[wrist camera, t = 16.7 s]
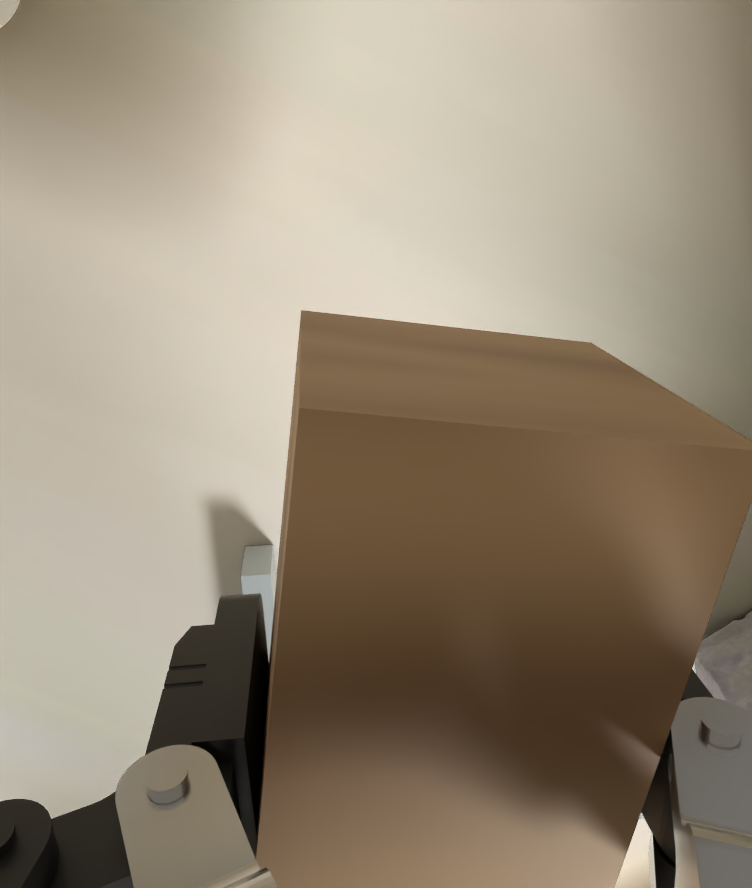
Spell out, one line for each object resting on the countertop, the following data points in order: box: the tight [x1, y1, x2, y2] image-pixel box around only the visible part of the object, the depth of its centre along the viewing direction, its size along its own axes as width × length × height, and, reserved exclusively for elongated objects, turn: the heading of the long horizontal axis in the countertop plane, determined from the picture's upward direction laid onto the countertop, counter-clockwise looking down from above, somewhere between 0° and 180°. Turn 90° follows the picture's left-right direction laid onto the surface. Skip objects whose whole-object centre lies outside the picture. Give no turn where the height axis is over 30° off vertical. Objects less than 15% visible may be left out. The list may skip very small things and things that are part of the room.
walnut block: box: [255, 310, 752, 888], centre depth 11 cm, size 8×5×5 cm, turn 172°
